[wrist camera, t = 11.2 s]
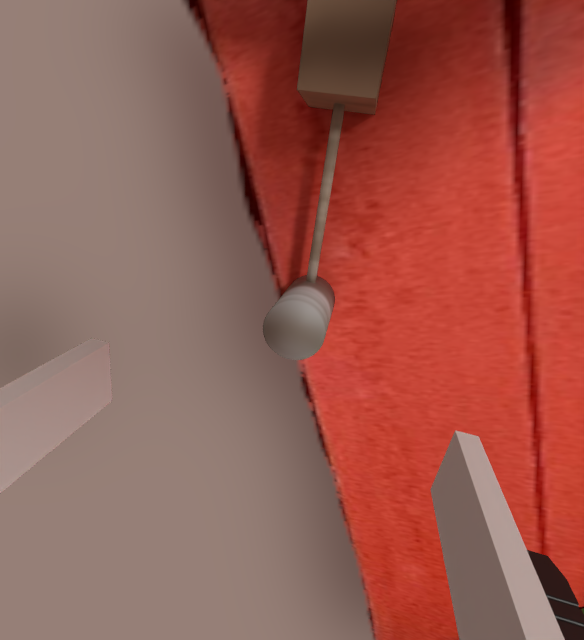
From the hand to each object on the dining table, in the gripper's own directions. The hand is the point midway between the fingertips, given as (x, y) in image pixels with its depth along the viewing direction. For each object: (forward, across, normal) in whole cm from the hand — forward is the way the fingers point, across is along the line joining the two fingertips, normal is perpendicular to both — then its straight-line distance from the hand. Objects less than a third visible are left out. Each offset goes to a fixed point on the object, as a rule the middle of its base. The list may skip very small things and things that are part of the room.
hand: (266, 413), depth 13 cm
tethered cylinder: (+20, -1, +7) cm, 21 cm away
